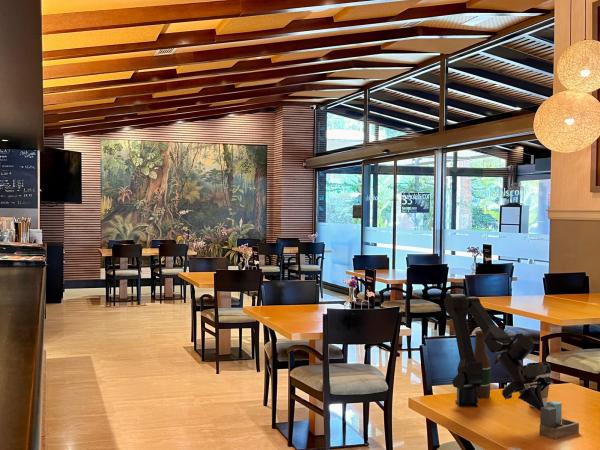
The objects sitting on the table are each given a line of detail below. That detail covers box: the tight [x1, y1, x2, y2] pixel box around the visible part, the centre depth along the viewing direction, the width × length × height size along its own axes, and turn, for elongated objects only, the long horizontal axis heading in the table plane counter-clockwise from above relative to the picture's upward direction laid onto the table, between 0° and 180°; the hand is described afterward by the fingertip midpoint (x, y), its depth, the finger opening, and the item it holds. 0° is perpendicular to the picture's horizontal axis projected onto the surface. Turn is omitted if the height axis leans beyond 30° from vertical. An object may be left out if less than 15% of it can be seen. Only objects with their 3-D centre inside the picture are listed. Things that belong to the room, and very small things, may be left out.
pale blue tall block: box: [546, 400, 563, 424], centre depth 210 cm, size 3×4×8 cm
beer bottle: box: [473, 330, 492, 399], centre depth 247 cm, size 8×8×24 cm
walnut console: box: [539, 418, 580, 440], centre depth 205 cm, size 6×12×3 cm, turn 124°
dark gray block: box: [539, 406, 556, 428], centre depth 204 cm, size 3×4×8 cm
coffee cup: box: [526, 362, 552, 409], centre depth 235 cm, size 8×8×15 cm
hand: (543, 410), depth 206 cm, fingers closed, pressing on dark gray block
